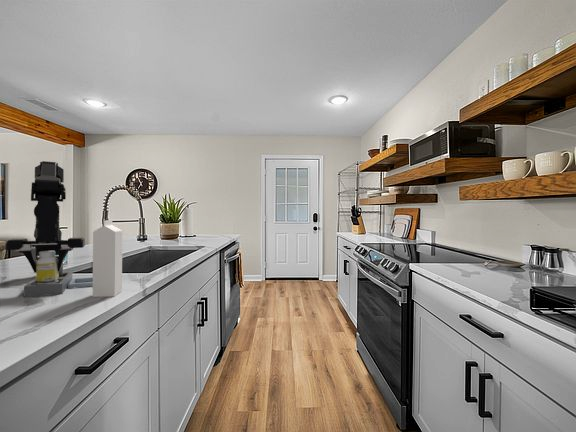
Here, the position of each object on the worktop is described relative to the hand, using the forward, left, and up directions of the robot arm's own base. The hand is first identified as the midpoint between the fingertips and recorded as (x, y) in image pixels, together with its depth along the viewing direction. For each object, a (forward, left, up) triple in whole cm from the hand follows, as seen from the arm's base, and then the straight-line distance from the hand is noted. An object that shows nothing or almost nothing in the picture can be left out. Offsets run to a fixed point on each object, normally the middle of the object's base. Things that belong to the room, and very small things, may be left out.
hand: (47, 271), depth 97 cm
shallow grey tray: (-5, 0, -6) cm, 8 cm away
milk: (+11, +17, -6) cm, 21 cm away
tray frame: (-7, +10, -6) cm, 13 cm away
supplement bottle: (0, 0, -4) cm, 4 cm away
